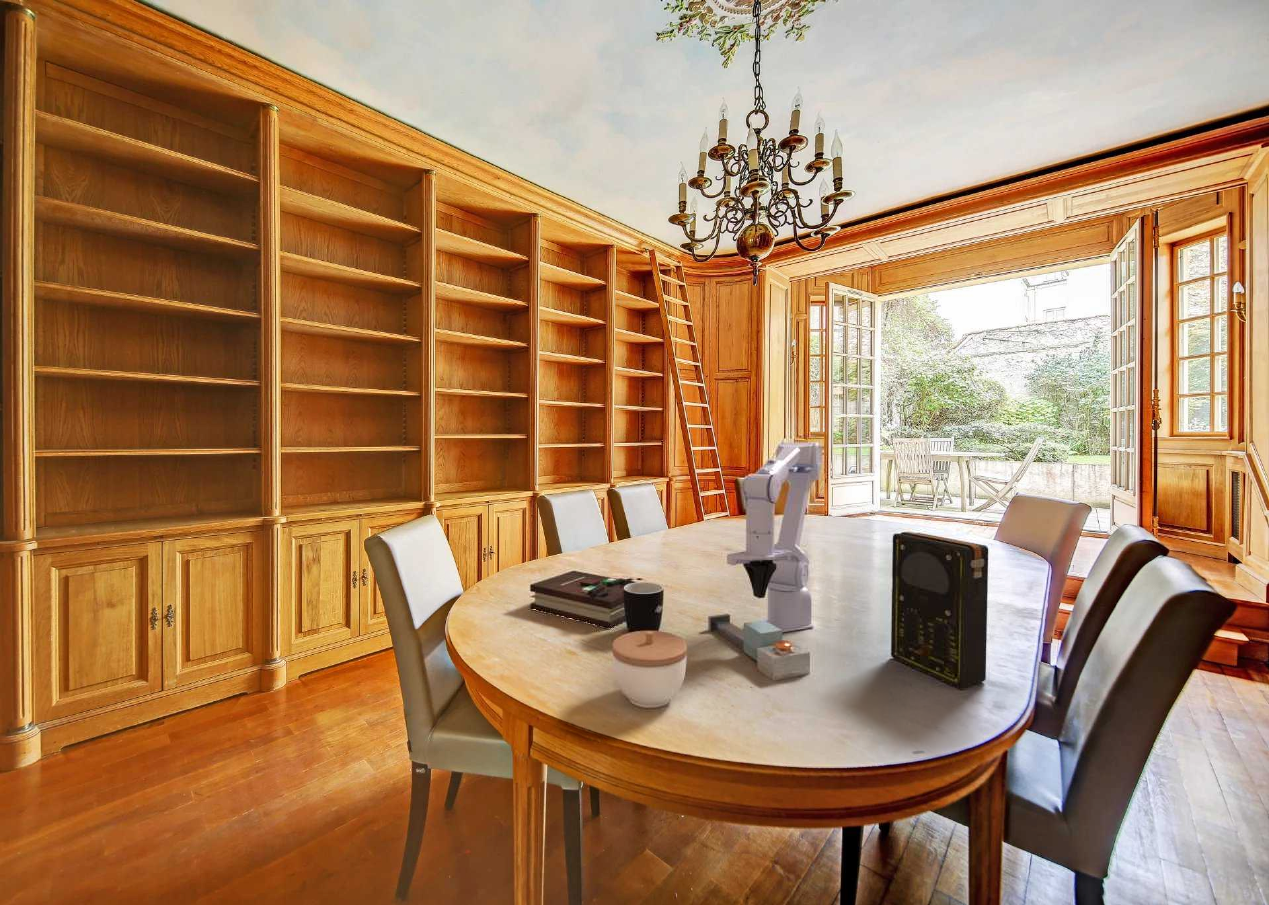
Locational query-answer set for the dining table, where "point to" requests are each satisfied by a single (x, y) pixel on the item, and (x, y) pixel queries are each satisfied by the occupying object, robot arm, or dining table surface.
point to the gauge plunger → (783, 646)
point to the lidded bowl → (649, 666)
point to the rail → (726, 629)
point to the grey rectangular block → (783, 662)
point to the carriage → (759, 636)
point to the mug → (643, 606)
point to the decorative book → (582, 597)
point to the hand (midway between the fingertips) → (759, 596)
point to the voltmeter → (940, 607)
